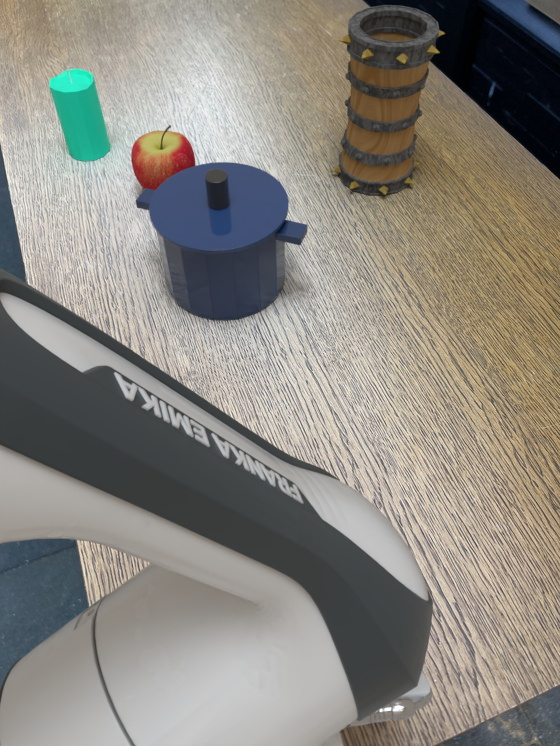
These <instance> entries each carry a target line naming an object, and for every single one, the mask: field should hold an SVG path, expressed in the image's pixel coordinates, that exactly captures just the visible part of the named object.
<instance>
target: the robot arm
mask: <svg viewBox="0 0 560 746" xmlns="http://www.w3.org/2000/svg"><path fill="white" fill-rule="evenodd" d="M60 539H61V540H62V539H63V540H71V541H72V540H73V541H80V542H89V543H92V544H93V543H94V544H96V545H97V544H98V545H101V546H104V547H107V548H109V549H112V550H115V551H117V552H120V553H123V554H125V555H128V556H131V557H133V558H136V559H138V560H141V561H144V562H146V563H149V564H147V565H146V566H145V567H143V568H142V569H141V570H139V571H138V572H137V573H135V574H134V575H133V576H131V577H130V578H128V579H127V580H126V581H124V582H123V583H122V584H120V585H118V587H116V588H115V589H114V590H112V591H110V592H108V593H107V594H105V595H103V596H102V597H100V598H99V599H97V601H95V602H94V603H92V604H91V605H90V606H88V607H87V608H85V609H84V610H82V612H80V613H79V614H78V615H76V616H74V617H73V618H72V619H71V620H69V621H68V622H66V623H65V624H64V625H62V626H61V627H60V628H59V629H57V630H56V631H55V632H53V633H52V634H51V635H49V636H48V637H47V638H46V639H45V640H43V641H42V642H40V643H39V644H38V645H37V646H35V647H34V648H33V649H31V650H30V651H29V652H28V653H27V654H25V655H24V656H21V657H20V658H19V659H17V660H16V661H15V662H14V663H13V664H12V665H11V667H10V668H9V670H8V671H7V673H6V675H5V677H4V679H3V681H2V684H1V687H0V746H344V742H343V737H342V734H341V732H342V731H343V730H344V729H346V728H352V727H353V728H354V727H360V726H361V727H362V726H366V725H371V724H375V723H382V722H388V721H393V722H395V721H396V722H397V721H398V722H399V721H404V720H405V721H406V720H408V719H411V718H414V717H415V715H416V711H418V710H420V709H423V708H424V707H426V706H427V705H428V704H430V703H431V701H432V697H433V688H432V686H431V685H430V682H429V680H428V678H427V676H426V674H425V673H424V671H423V668H424V665H425V661H426V657H427V652H428V648H429V642H430V636H431V630H432V623H433V621H432V620H433V612H434V611H433V608H434V601H433V597H432V595H431V593H430V591H429V588H428V587H427V583H426V581H425V577H424V575H423V572H422V570H421V568H420V566H419V564H418V561H417V559H416V558H415V556H414V554H413V552H412V551H411V549H410V547H409V545H408V544H407V542H406V541H405V540H404V538H403V537H402V535H401V534H400V533H399V531H398V530H397V528H396V527H395V526H394V525H393V524H392V522H391V521H390V520H389V519H388V518H387V516H386V515H385V514H384V513H383V512H382V511H381V510H380V509H379V508H378V507H377V506H376V505H375V504H374V503H373V502H371V500H370V499H368V498H367V497H366V496H364V495H363V494H362V493H361V492H359V491H358V490H356V489H355V488H353V487H351V486H350V485H348V484H346V483H344V482H342V481H341V480H340V479H339V478H337V477H336V476H335V475H334V474H332V473H331V472H329V471H327V470H325V469H324V468H321V467H319V466H317V465H314V464H312V463H309V462H308V461H304V460H302V459H299V458H297V457H295V456H293V455H290V454H288V453H287V452H285V451H283V450H282V449H280V448H278V447H277V446H276V445H274V444H272V443H271V442H269V441H268V440H266V439H265V438H263V437H262V436H260V435H259V434H257V433H255V432H254V431H252V429H250V428H248V427H247V426H245V425H243V424H242V423H241V422H239V421H238V420H236V419H235V418H233V417H232V416H230V415H229V414H228V413H226V412H225V411H223V410H222V409H220V408H218V407H217V406H216V405H214V404H213V403H211V402H209V400H207V399H205V398H204V397H202V396H201V395H199V394H198V393H196V391H194V390H192V389H191V388H189V387H187V386H186V385H184V384H183V383H182V382H180V381H178V380H177V379H176V378H174V377H172V376H171V375H170V374H168V373H167V372H166V371H164V370H162V369H161V368H159V367H158V366H156V365H155V364H153V363H152V362H150V361H148V360H147V359H145V358H144V357H142V356H141V355H140V354H138V353H136V352H135V351H134V350H132V349H130V348H129V347H128V346H126V345H125V344H124V343H123V342H120V341H119V340H117V339H116V338H114V337H113V336H111V335H110V334H108V333H107V332H105V331H103V330H102V329H100V328H99V327H97V326H95V325H94V324H93V323H91V322H90V321H88V320H86V319H85V318H83V317H82V316H80V315H79V314H77V313H75V312H74V311H72V310H71V309H69V308H67V307H66V306H64V305H63V304H61V303H60V302H58V301H56V300H54V299H53V298H52V297H50V296H48V295H47V294H45V293H43V292H42V291H40V290H38V289H36V288H35V287H33V286H32V285H30V284H29V283H28V282H25V281H24V280H22V279H20V278H18V277H17V276H15V275H14V274H12V273H10V272H8V271H6V269H3V268H2V267H0V545H1V544H6V543H15V542H24V541H30V540H60Z"/></svg>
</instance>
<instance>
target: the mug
mask: <svg viewBox="0 0 560 746" xmlns="http://www.w3.org/2000/svg"><path fill="white" fill-rule="evenodd" d="M347 24H348V25H347V33H348V34H346V35H345V36H343V37H341V38H340V39H338V40H337V41H338V42H340V43H343V44H345V45H346V51H347V53H348V54H349V61H348V63H347V73H345V79H346V80H347V81H349V83H350V96H349V97H348V98H347V99H346V100H345V101H344V106H345V107H346V108H347V110H346V116H347V117H348V119H347V125H346V127H345V130H344V133H343V136H342V139H341V140H340V146H341V148H340V151H341V152H340V153H339V155H338V166H337V167H334V168H332V169H330V171H331V172H333V173H337V177H338V178H339V180H340V181H341V183H342V185H344V186H345V187H347V188H348V189H349V190H351V191H353V192H356V193H359V194H363V195H366V196H379V197H384V196H389V195H395V194H398V193H399V192H401V191H402V190H404V189H406V188H408V186H410V185H415V184H416V183H415V182H414V181H413V172H414V169H415V167H416V166H418V165H420V164H421V162H418V161H416V160H415V158H414V156H413V155H414V153H415V151H416V140H417V139H418V134H416V133H415V127H416V122H417V120H418V119H419V118H420V117H421V116H422V115H423V110H421V107H420V98H421V93H422V91H423V90H424V88H425V87H426V81H427V80H428V76H429V74H430V68H429V64H430V62H431V60H432V59H433V57H434V56H435V55H438V54H440V53H441V52H440V51H439V50H438V49H437V45H436V43H437V38H439V37H441V36H443V35H445V34H446V33H445V31H442V30H441V29H440V26H439V25H440V24H439V22H438V21H437V19H435V18H434V17H433V16H432V15H431V14H430V13H427V12H425V11H423V10H420V9H419V8H415V7H410V6H404V5H398V4H397V5H395V4H394V5H392V4H382V5H376V6H370V7H369V6H368V7H366V8H364V9H362V10H361V9H360V10H358V11H357V12H355V13H353V15H352V16H351V17H350V18H349V19H348V23H347Z"/></svg>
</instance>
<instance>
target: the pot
mask: <svg viewBox="0 0 560 746" xmlns="http://www.w3.org/2000/svg"><path fill="white" fill-rule="evenodd" d="M155 191H156V190H151V189H147V188H145V189H144V188H143V190H142V192H141V193H140V194H139V196H138V197H137V198H136V199H135V204H136V208H138V209H142V210H146V211H149V205H150V200H151V198H152V196H153V194H154V192H155ZM308 226H309V225H308V224H306V223H302V222H297V221H294V220H293V221H292V220H289V219H285V222H284V223H283V225H282V226H281V228H280V229H279V230H278V231H277V232H276V233H275V234H274V235H272V236H271V237H270V238H268V239H267V240H265V241H264V242H262V243H260V244H258V245H256V246H253V247H251V248H248V249H245V250H241V251H237V252H231V253H222V254H207V253H198V252H193V251H189V250H185V249H182V248H180V247H177V246H175V245H173V244H171V243H169V242H168V241H166V240H165V239H164V238H162V237H161V236H160V235H159V234H158V233H157V231H156V230H155V231H156V236H157V237H156V238H157V241H158V246H159V250H160V256H161V261H162V265H163V271H164V276H165V281H166V285H167V287H168V288H169V293H170V295H171V297H172V298H173V300H174V301H175V302H176V303H177V304H178V305H179V307H181V308H182V309H183V310H185V311H186V312H187V313H190V314H192V315H194V316H196V317H199V318H204V319H207V320H211V321H212V320H213V321H235V320H239V319H244V318H247V317H250V316H253V315H255V314H257V313H259V312H261V311H263V310H264V309H266V308H268V307H269V306H270V305H271V304H272V303H273V302H274V301H275V300H276V299H277V298H278V296H279V295H280V294H281V291H282V290H283V287H284V283H285V280H286V251H285V250H286V247H285V246H286V245H285V244H286V243H287V244H292V245H297V246H301V245H302V243H303V241H304V240H305V237H306V235H307V233H308Z"/></svg>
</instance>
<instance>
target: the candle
mask: <svg viewBox="0 0 560 746" xmlns="http://www.w3.org/2000/svg"><path fill="white" fill-rule="evenodd" d="M48 84H49V86H48V87H49V91H50V94H51V97H52V100H53V101H52V102H53V104H54V108H55V111H56V114H57V117H58V120H59V124H60V127H61V130H62V133H63V137H64V140H65V144H66V147H67V150H68V154H69V156H70V157H72V158H73V160H77V161H81V162H90V161H96V160H99V159H101V158H103V157H105V156H107V154H108V153H109V152H110V150H111V143H110V139H109V135H108V131H107V127H106V123H105V118H104V115H103V110H102V106H101V103H100V102H101V101H100V98H99V94H98V90H97V85H96V81H95V78H94V74H93V73H92V72H90V71H89V70H86V69H81V68H72V69H71V68H70V69H69V68H67V69H65V70H63V71H62V72H61V73H59V74H58V75H56V76H54V77H51V78H49V83H48Z"/></svg>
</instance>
